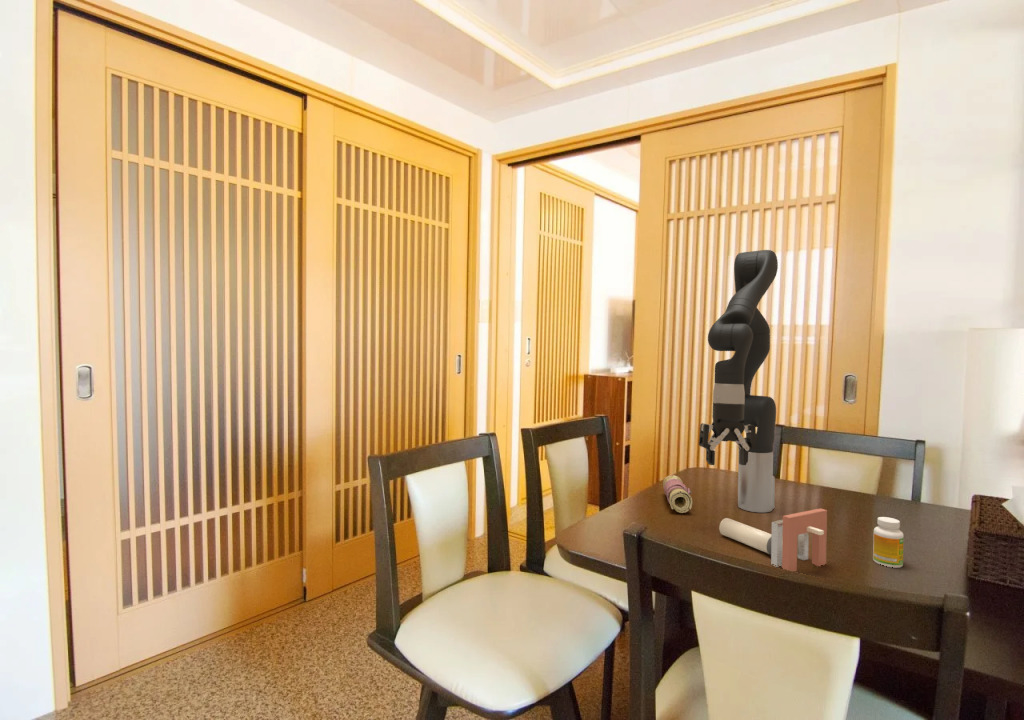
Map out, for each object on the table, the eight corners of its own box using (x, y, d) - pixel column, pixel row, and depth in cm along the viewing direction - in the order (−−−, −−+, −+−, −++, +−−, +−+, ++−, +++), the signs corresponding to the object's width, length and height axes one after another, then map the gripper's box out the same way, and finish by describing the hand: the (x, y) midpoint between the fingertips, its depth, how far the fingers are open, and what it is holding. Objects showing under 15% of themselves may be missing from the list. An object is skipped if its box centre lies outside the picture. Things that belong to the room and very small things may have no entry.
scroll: (700, 511, 147) (691, 491, 166) (688, 486, 147) (681, 470, 167) (674, 521, 148) (669, 500, 168) (663, 496, 149) (659, 479, 168)
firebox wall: (819, 561, 116) (820, 508, 116) (839, 569, 112) (840, 514, 112) (782, 571, 111) (782, 515, 111) (801, 580, 107) (802, 522, 106)
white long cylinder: (719, 537, 131) (718, 519, 131) (732, 534, 133) (732, 516, 133) (774, 560, 117) (774, 540, 117) (788, 556, 119) (788, 536, 119)
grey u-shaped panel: (802, 556, 119) (802, 515, 118) (808, 559, 117) (808, 517, 117) (771, 564, 115) (771, 521, 114) (777, 567, 113) (777, 523, 113)
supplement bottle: (904, 570, 112) (905, 525, 111) (873, 565, 114) (874, 520, 114) (901, 561, 116) (902, 518, 116) (872, 556, 119) (873, 514, 119)
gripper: (746, 401, 139) (744, 462, 139) (695, 399, 137) (693, 461, 137) (763, 403, 131) (761, 467, 131) (709, 402, 130) (707, 467, 129)
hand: (726, 464), depth 134 cm, fingers open, 8 cm apart
